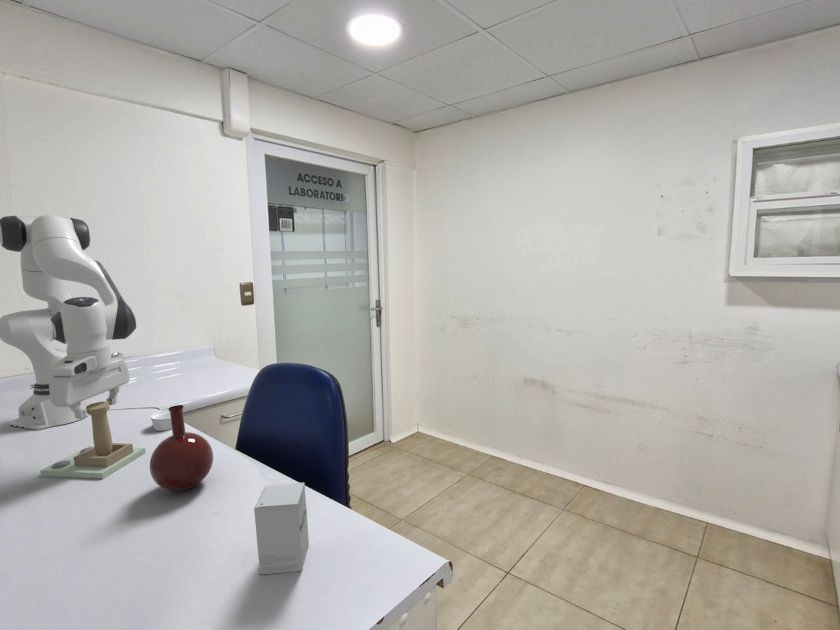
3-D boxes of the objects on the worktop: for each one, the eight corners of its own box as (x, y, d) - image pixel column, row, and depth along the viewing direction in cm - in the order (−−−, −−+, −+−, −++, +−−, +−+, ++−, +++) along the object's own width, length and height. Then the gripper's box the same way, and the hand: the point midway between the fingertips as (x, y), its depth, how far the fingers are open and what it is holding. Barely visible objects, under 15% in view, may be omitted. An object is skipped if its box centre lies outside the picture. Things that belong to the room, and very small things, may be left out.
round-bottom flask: (150, 509, 93) (139, 422, 90) (155, 482, 105) (145, 404, 102) (217, 492, 99) (208, 410, 96) (214, 468, 111) (206, 394, 108)
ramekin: (181, 419, 146) (180, 407, 145) (184, 427, 139) (183, 414, 138) (151, 425, 141) (149, 413, 140) (152, 434, 134) (151, 421, 133)
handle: (94, 466, 111) (86, 411, 108) (93, 457, 116) (85, 404, 113) (117, 460, 114) (109, 406, 111) (115, 451, 119) (108, 400, 116)
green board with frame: (40, 476, 109) (38, 461, 109) (89, 450, 123) (87, 437, 123) (103, 478, 107) (101, 463, 107) (145, 452, 121) (143, 439, 120)
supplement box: (302, 572, 73) (297, 504, 72) (258, 575, 73) (252, 507, 71) (310, 543, 81) (305, 481, 79) (270, 546, 80) (264, 484, 78)
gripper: (112, 350, 121) (118, 396, 123) (40, 371, 101) (49, 426, 103) (132, 350, 120) (138, 397, 123) (63, 371, 100) (72, 427, 102)
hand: (97, 410), depth 113 cm, fingers open, 8 cm apart
